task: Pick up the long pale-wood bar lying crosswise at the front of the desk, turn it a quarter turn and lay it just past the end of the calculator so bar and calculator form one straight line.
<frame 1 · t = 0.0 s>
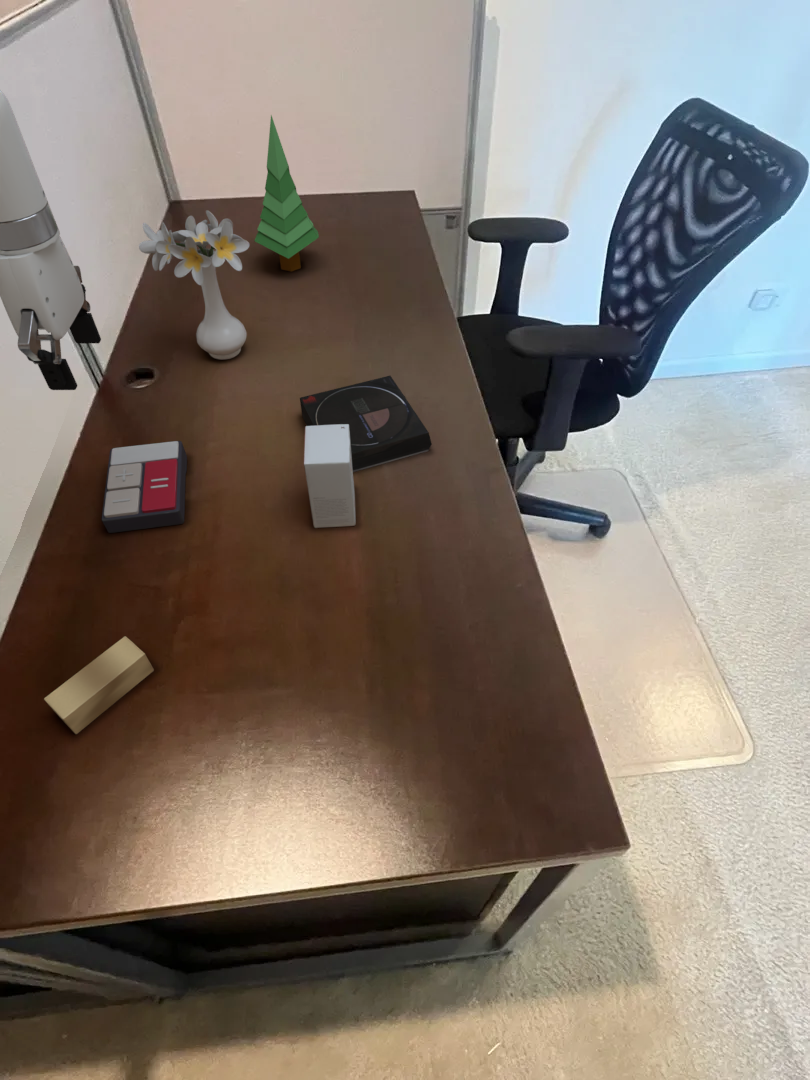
hand: (77, 364, 83), 25 cm above the table, tool pointing down, fingers open, 9 cm apart
portable cd player: (365, 433, 113), on the table
calculator: (150, 494, 104), on the table
wood bar: (106, 692, 81), on the table
small box: (334, 508, 102), on the table
decorative tree: (291, 266, 150), on the table
flower vase: (221, 352, 128), on the table
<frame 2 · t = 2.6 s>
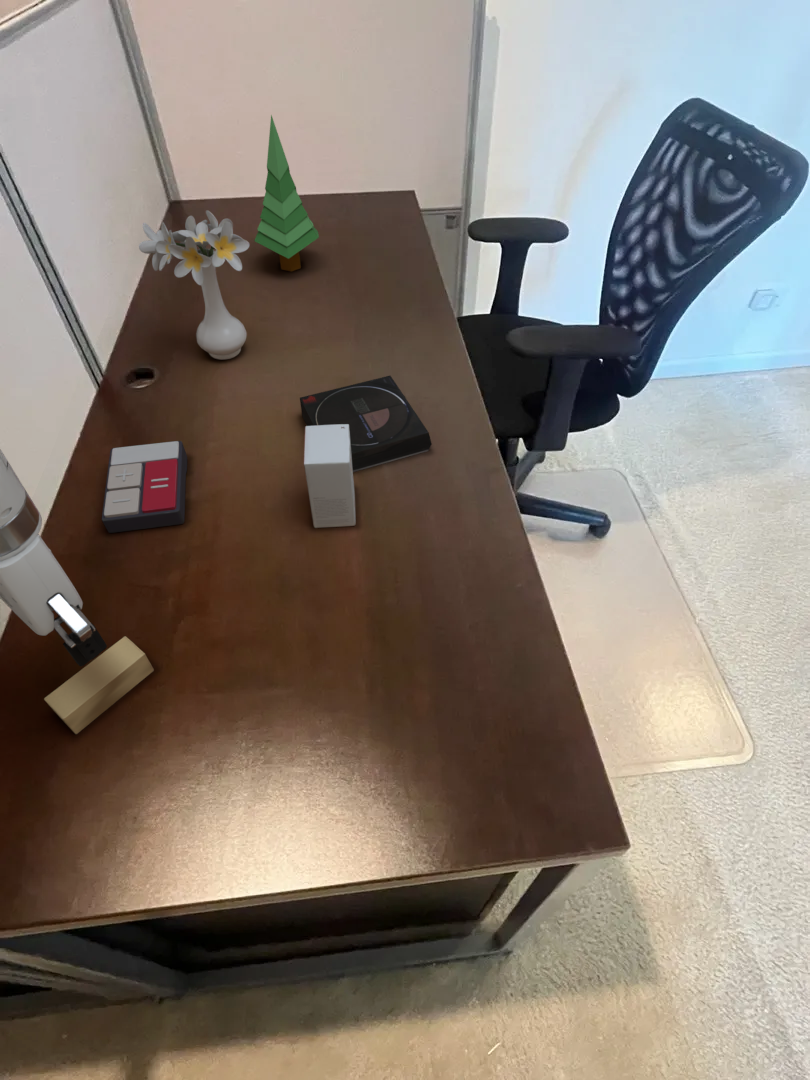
hand: (66, 630, 71), 14 cm above the table, tool pointing down, fingers open, 9 cm apart
nothing on the table moved.
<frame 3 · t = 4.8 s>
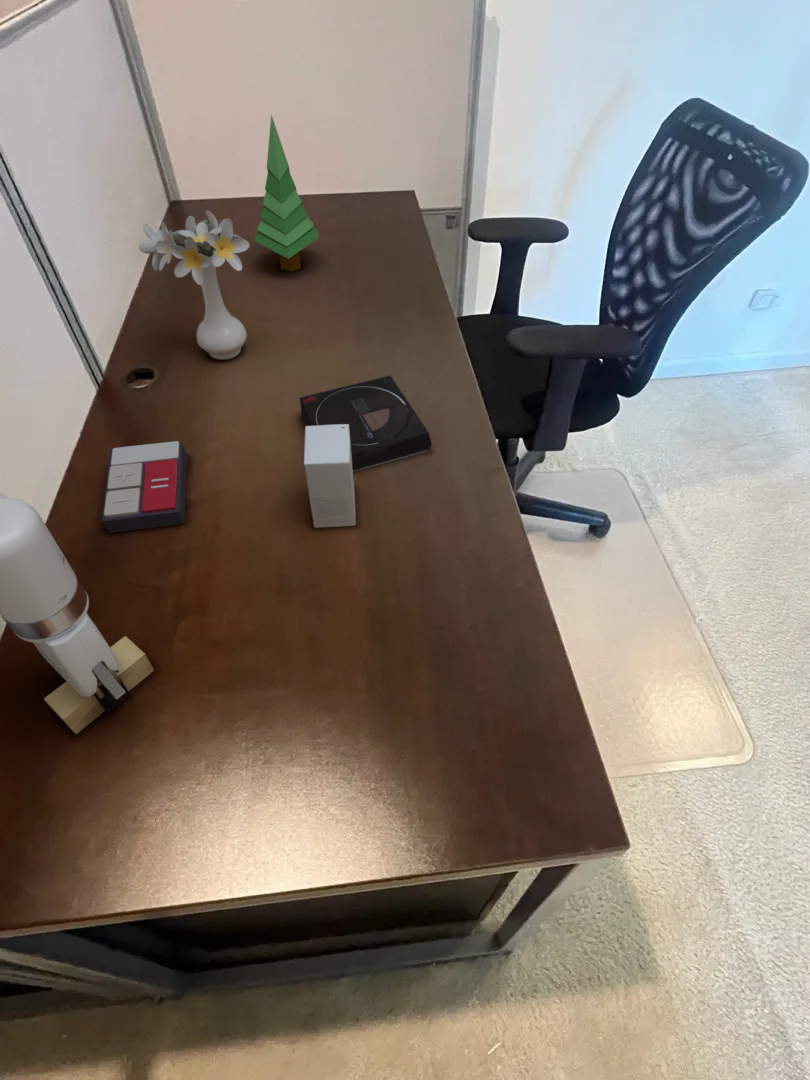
hand: (105, 689, 81), 1 cm above the table, tool pointing down, fingers closed on wood bar, 4 cm apart
wood bar: (106, 692, 81), on the table, touching gripper
everything else where it was.
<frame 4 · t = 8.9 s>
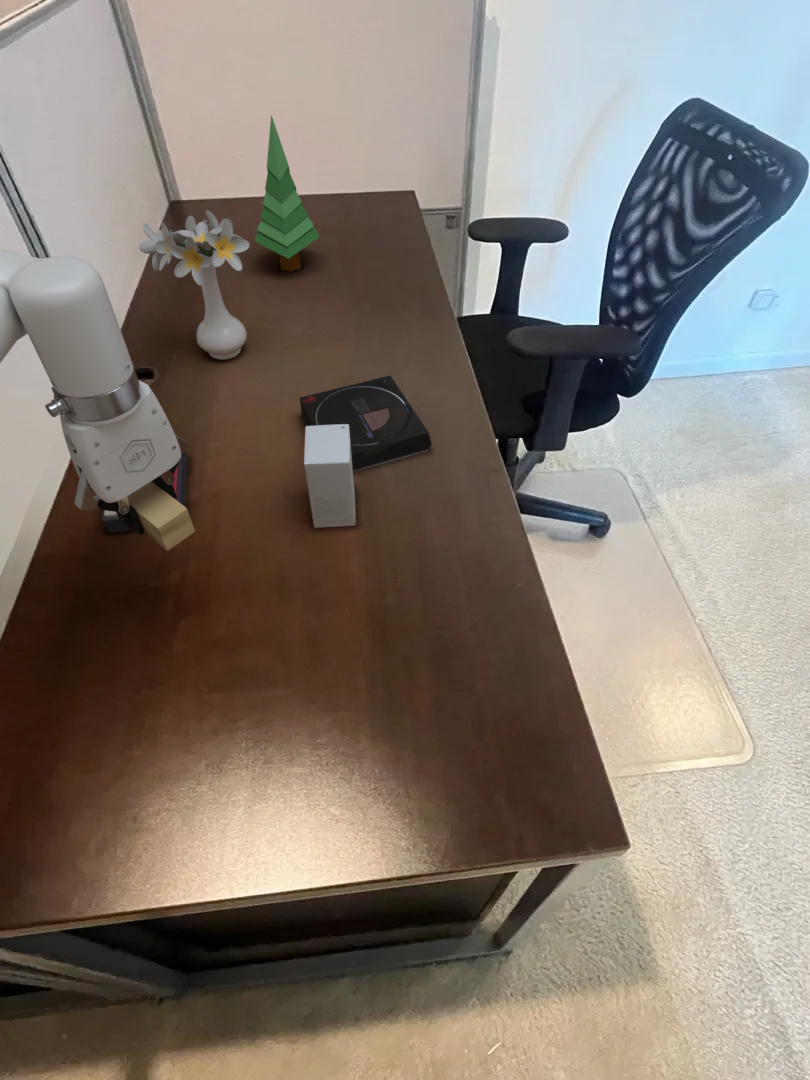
hand: (151, 515, 79), 15 cm above the table, tool pointing down, fingers closed on wood bar, 4 cm apart
wood bar: (153, 518, 80), point 15 cm above the table, touching gripper
everything else where it was.
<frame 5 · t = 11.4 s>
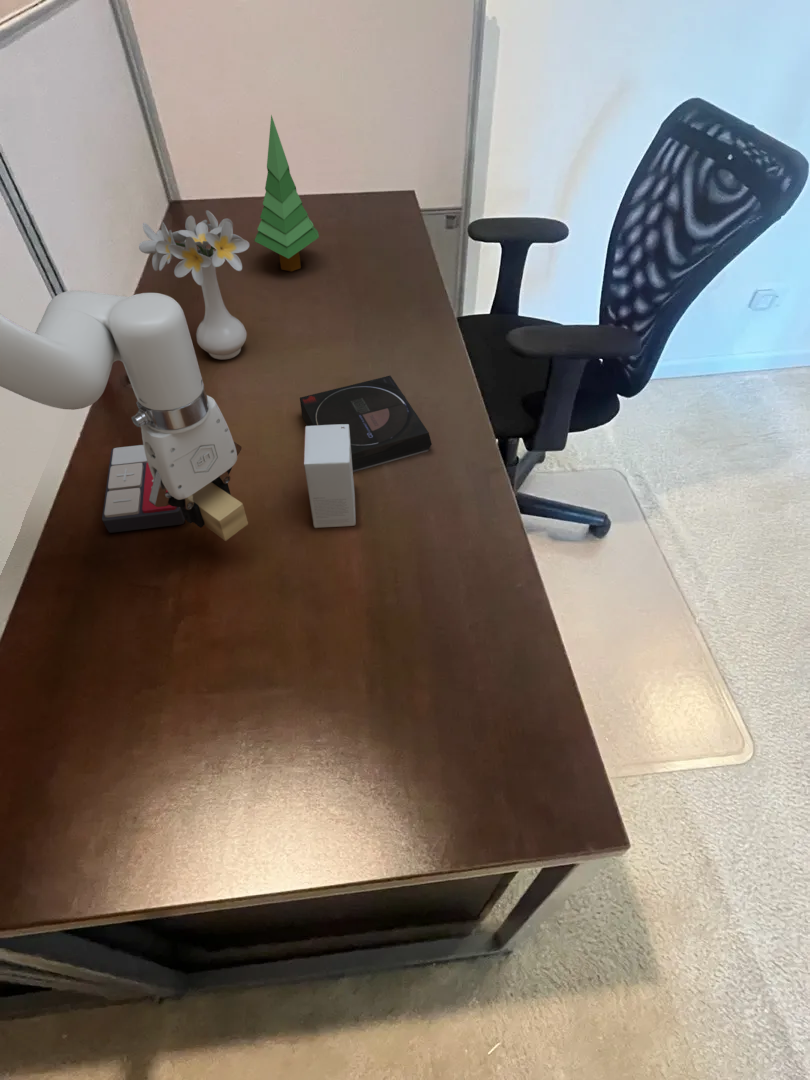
hand: (209, 510, 91), 7 cm above the table, tool pointing down, fingers closed on wood bar, 4 cm apart
wood bar: (210, 513, 91), point 7 cm above the table, touching gripper
everything else where it was.
when the fingers open (0 cm above the table, at t = 13.3 s): wood bar stays where it is, on the table.
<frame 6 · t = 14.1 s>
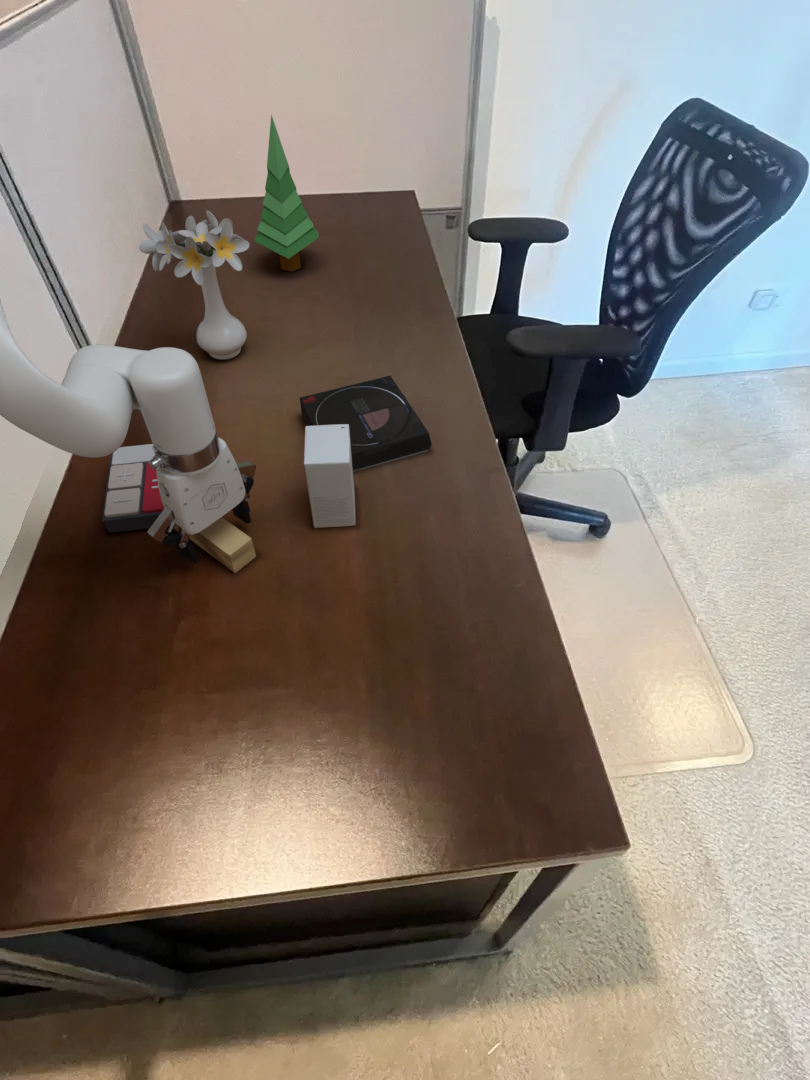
hand: (216, 537, 95), 2 cm above the table, tool pointing down, fingers open, 9 cm apart
wood bar: (220, 546, 97), on the table
everything else where it was.
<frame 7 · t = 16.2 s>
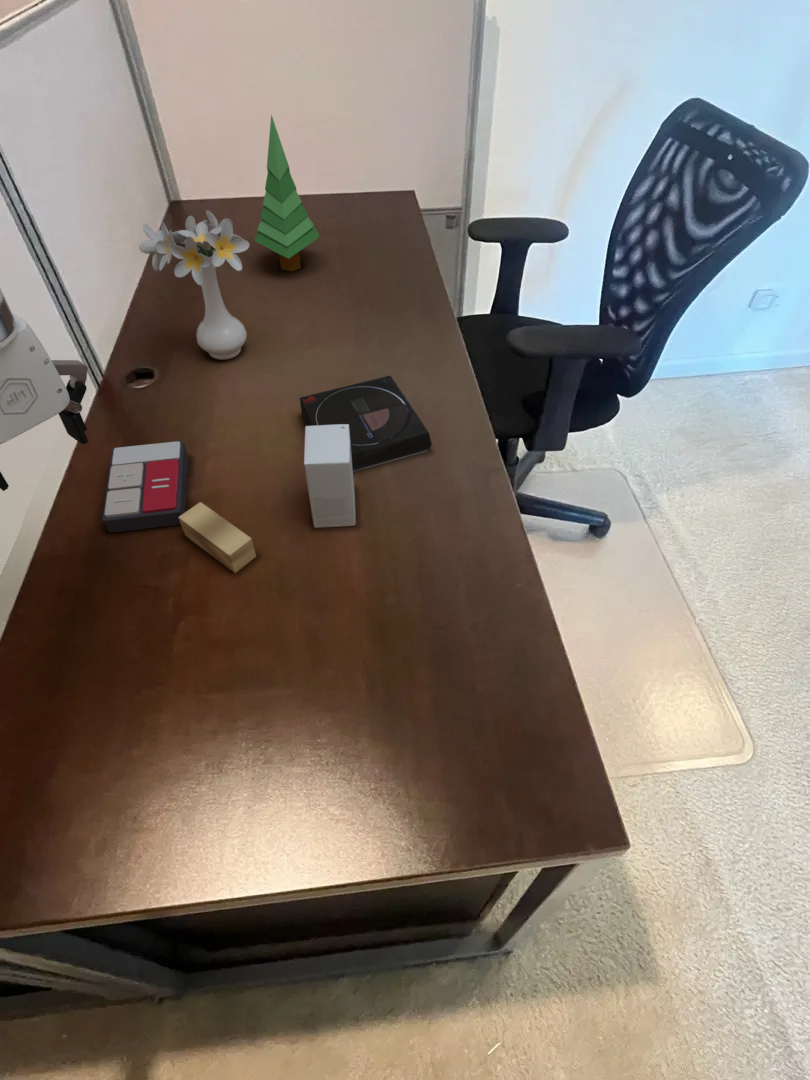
hand: (40, 460, 74), 23 cm above the table, tool pointing down, fingers open, 9 cm apart
nothing on the table moved.
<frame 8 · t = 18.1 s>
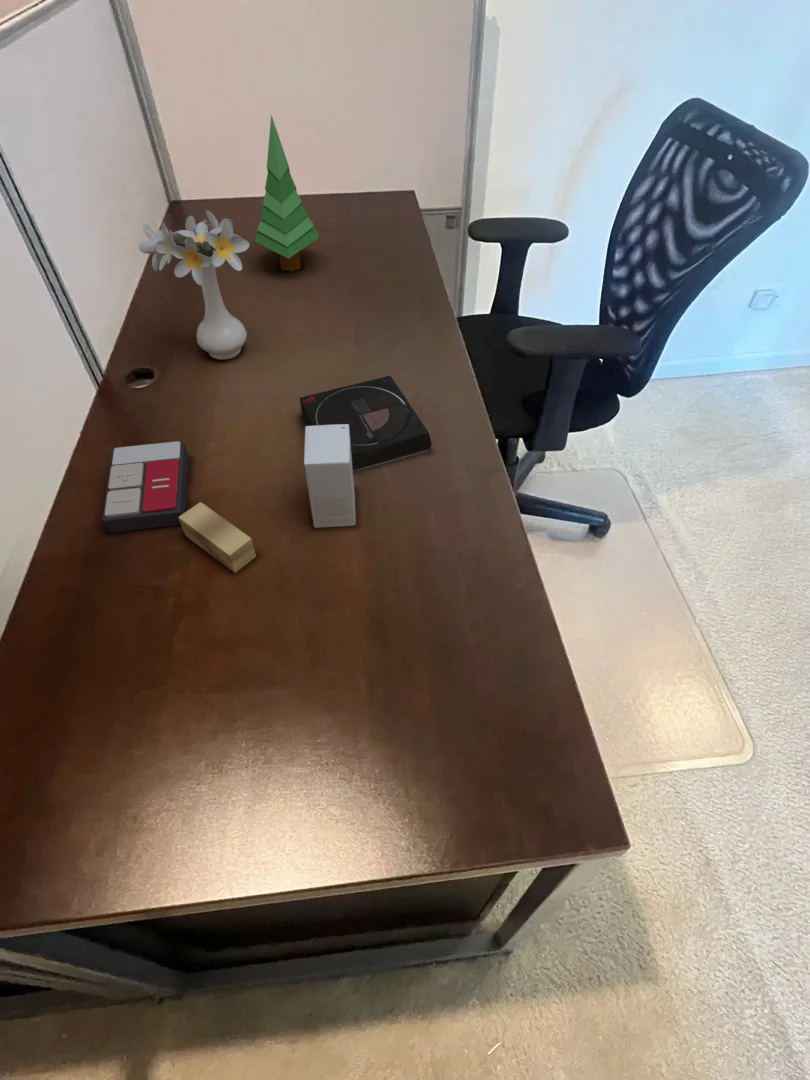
nothing on the table moved.
at the end: wood bar 0.1 cm from the target spot on the table beside the calculator, on the table; wood bar tilted 0°; calculator moved 0.3 cm from its start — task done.
